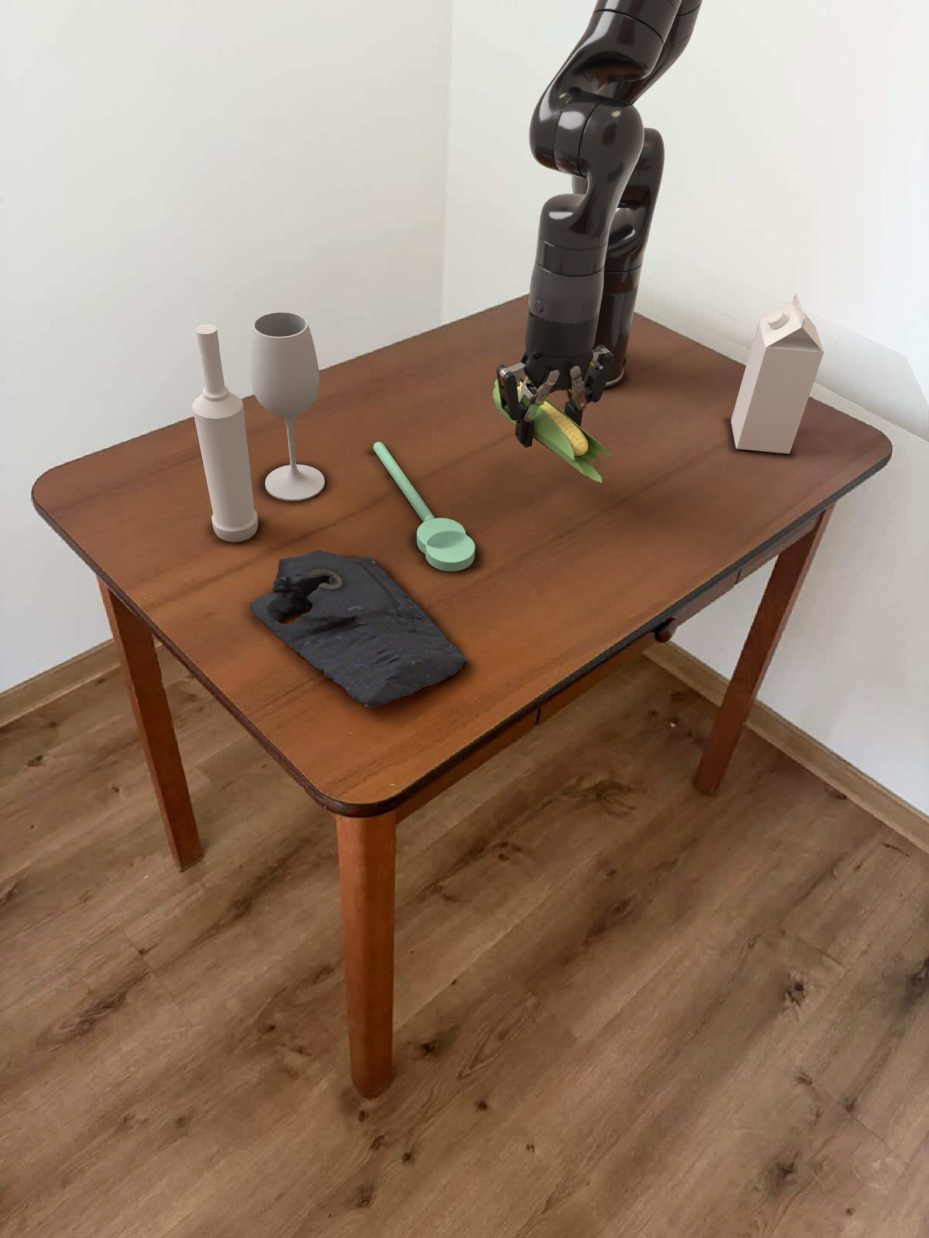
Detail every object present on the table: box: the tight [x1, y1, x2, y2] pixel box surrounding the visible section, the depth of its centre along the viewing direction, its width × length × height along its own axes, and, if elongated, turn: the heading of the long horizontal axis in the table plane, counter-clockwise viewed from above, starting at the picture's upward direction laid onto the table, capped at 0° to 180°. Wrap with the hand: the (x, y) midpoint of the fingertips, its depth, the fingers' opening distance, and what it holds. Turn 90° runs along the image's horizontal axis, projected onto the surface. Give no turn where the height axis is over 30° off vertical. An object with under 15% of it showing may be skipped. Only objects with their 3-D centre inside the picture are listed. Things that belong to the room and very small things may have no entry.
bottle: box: [191, 323, 259, 543], centre depth 103 cm, size 5×5×25 cm
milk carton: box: [730, 292, 825, 455], centre depth 124 cm, size 7×7×19 cm
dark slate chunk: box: [249, 549, 469, 709], centre depth 98 cm, size 15×22×5 cm
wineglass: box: [249, 311, 326, 502], centre depth 111 cm, size 8×8×21 cm
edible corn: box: [492, 377, 613, 483], centre depth 111 cm, size 5×20×5 cm, turn 35°
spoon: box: [373, 441, 476, 572], centre depth 116 cm, size 26×6×1 cm, turn 25°
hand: (546, 438), depth 113 cm, fingers closed on edible corn, 5 cm apart
